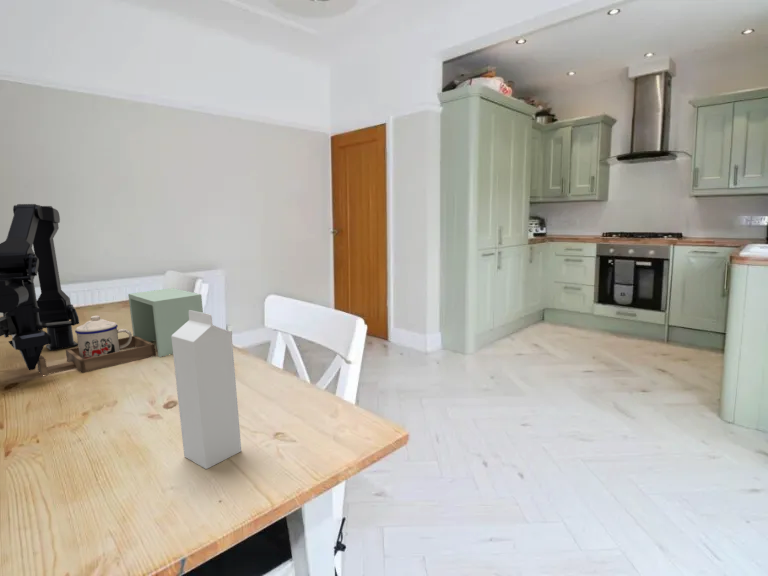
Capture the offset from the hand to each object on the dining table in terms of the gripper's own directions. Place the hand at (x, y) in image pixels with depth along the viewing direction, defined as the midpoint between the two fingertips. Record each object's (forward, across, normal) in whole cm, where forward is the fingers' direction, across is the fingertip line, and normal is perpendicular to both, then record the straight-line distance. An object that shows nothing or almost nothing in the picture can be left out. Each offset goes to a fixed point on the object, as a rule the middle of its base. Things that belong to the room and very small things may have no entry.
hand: (31, 369), depth 102 cm
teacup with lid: (+2, 0, +15) cm, 15 cm away
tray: (+1, 0, +13) cm, 13 cm away
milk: (+2, +66, +12) cm, 67 cm away
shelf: (+2, 0, +31) cm, 31 cm away
